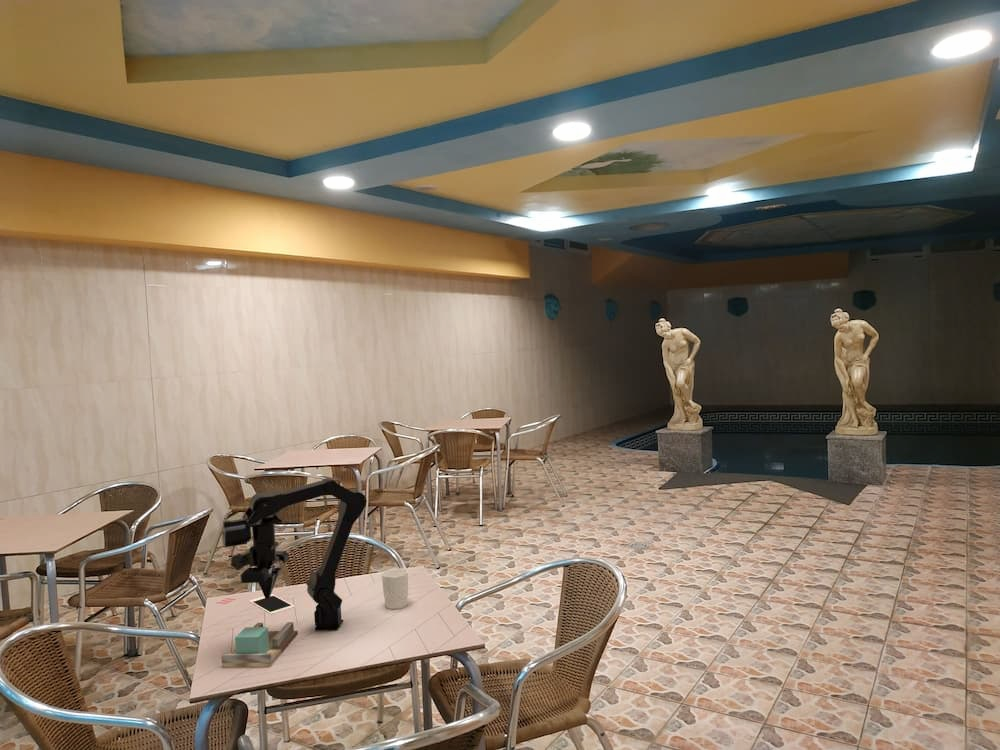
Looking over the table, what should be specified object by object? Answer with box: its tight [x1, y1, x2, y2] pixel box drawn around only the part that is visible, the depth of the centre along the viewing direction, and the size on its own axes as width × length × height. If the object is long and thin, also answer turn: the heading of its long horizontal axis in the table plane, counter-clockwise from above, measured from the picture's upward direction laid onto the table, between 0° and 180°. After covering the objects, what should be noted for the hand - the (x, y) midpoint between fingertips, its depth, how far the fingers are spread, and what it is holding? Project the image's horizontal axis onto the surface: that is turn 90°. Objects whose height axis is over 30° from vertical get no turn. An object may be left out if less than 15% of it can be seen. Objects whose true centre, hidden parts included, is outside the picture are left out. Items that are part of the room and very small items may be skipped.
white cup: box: [381, 567, 409, 610], centre depth 211 cm, size 8×8×10 cm
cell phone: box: [248, 593, 296, 615], centre depth 217 cm, size 8×16×1 cm, turn 43°
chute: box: [221, 621, 299, 668], centre depth 183 cm, size 12×19×3 cm, turn 176°
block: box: [234, 626, 269, 654], centre depth 178 cm, size 6×6×6 cm
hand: (267, 597), depth 188 cm, fingers closed
